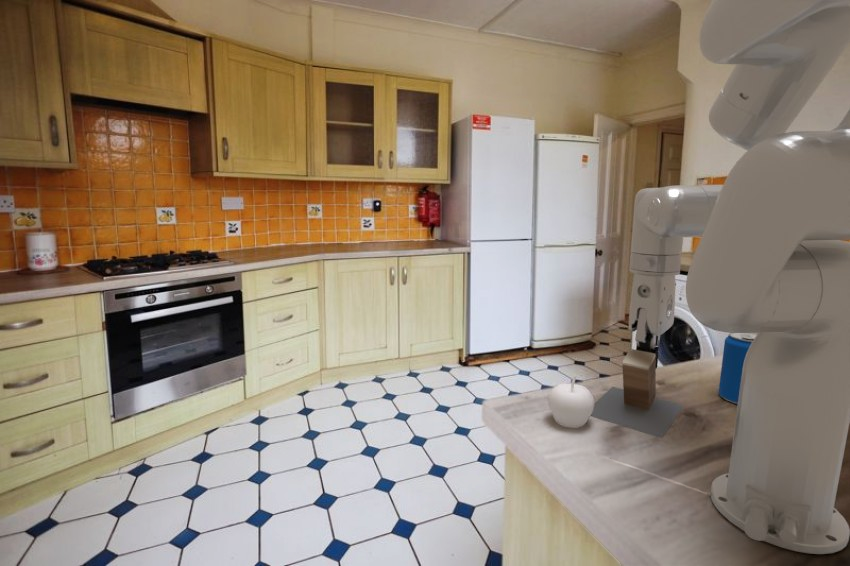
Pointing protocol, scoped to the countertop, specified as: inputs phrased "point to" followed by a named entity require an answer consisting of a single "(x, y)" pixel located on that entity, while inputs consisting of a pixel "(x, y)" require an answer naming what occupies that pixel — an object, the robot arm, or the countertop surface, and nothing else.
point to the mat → (636, 413)
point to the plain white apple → (571, 404)
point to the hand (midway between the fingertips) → (645, 368)
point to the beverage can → (734, 364)
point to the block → (639, 378)
